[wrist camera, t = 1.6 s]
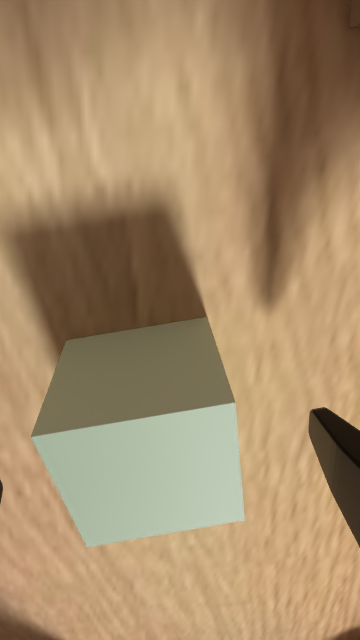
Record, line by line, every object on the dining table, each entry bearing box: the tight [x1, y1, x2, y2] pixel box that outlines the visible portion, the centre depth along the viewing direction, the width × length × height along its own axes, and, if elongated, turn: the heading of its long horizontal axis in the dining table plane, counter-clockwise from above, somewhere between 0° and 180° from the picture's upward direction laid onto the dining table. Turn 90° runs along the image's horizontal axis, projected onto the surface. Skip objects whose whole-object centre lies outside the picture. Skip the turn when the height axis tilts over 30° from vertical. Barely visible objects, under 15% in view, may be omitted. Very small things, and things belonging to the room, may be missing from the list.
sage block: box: [31, 317, 245, 547], centre depth 10 cm, size 4×4×4 cm
